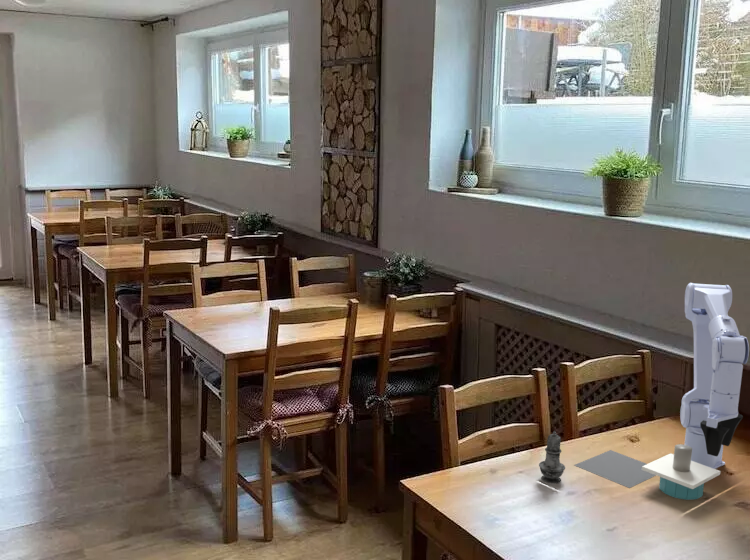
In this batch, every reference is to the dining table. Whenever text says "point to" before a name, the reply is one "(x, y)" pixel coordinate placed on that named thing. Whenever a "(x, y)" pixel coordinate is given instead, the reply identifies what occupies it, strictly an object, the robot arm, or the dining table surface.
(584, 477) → the dining table surface
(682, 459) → the lid
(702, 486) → the bowl
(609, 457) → the mat
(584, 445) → the dining table surface
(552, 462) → the dark grey turned figure
